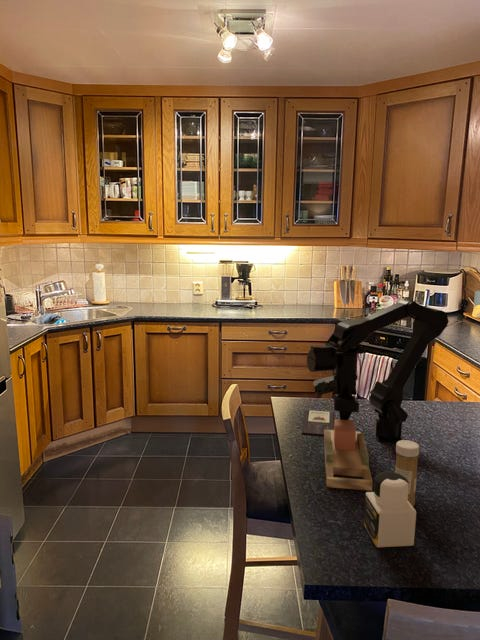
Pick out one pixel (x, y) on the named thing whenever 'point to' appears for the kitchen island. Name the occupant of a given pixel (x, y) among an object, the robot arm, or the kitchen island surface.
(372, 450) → the kitchen island surface
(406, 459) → the sprinkles bottle
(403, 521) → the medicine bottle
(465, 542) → the kitchen island surface
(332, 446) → the beige tray
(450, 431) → the kitchen island surface
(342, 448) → the block
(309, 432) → the chocolate bar
